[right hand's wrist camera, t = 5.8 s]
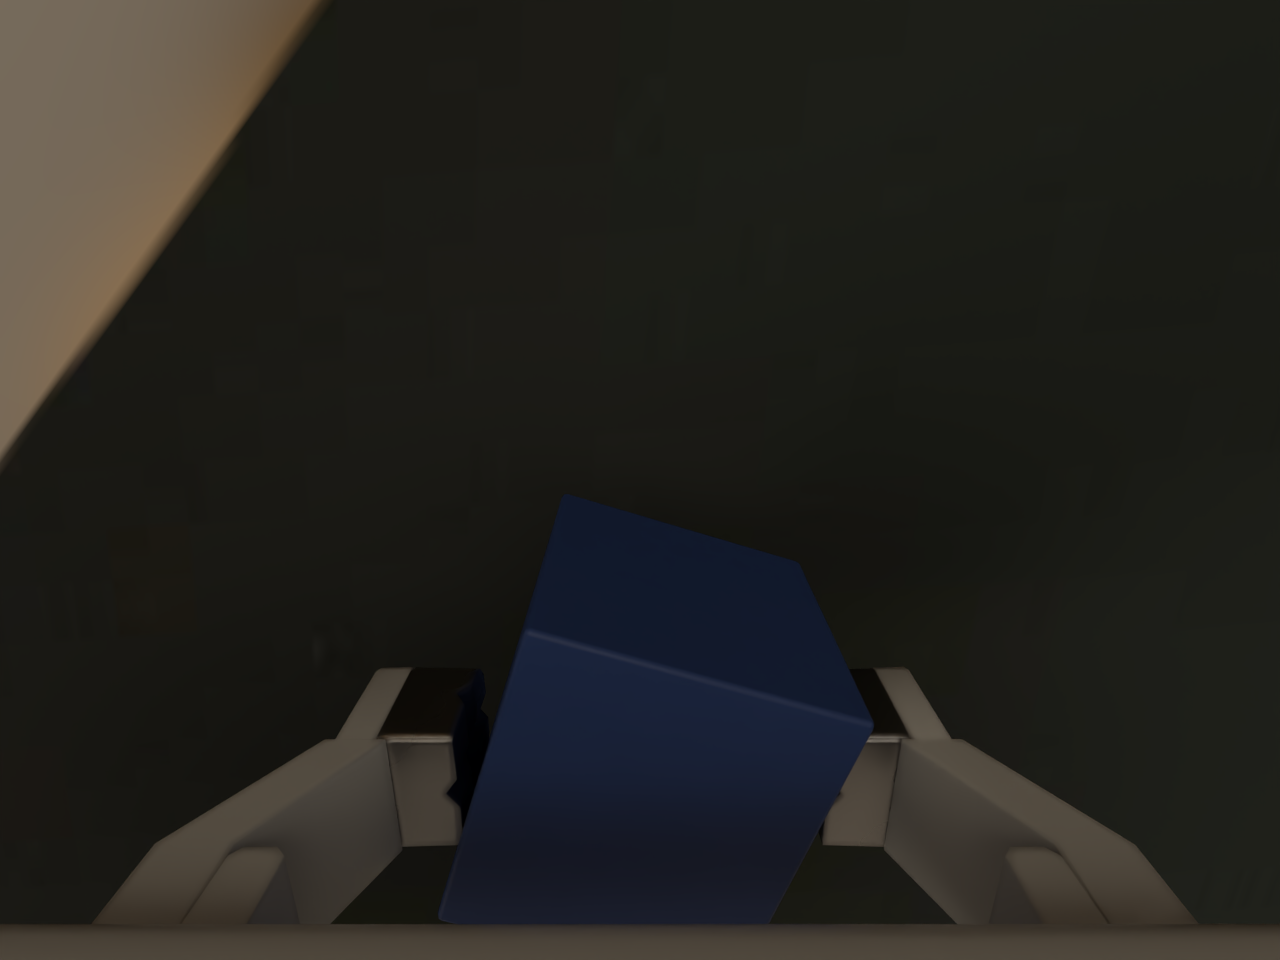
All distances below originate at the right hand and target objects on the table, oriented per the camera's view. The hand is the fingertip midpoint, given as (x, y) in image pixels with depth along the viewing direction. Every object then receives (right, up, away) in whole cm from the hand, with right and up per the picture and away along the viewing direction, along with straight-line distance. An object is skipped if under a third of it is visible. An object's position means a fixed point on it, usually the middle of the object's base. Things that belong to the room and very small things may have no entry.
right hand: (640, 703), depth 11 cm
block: (0, +1, +2) cm, 2 cm away
